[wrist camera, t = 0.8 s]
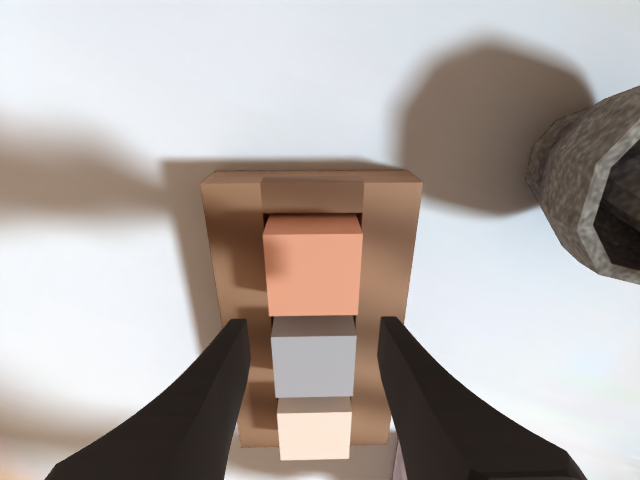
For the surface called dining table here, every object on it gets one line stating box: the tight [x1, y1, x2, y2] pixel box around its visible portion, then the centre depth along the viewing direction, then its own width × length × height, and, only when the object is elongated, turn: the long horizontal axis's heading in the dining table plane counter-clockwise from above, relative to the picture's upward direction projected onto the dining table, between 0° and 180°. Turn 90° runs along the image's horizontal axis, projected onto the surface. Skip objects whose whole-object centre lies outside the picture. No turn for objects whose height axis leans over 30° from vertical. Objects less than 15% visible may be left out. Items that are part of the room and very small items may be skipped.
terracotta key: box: [263, 213, 363, 316], centre depth 19 cm, size 5×5×4 cm
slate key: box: [271, 315, 357, 398], centre depth 21 cm, size 5×5×4 cm
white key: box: [277, 396, 352, 460], centre depth 24 cm, size 5×5×4 cm
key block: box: [200, 170, 423, 448], centre depth 23 cm, size 22×12×3 cm, turn 0°
